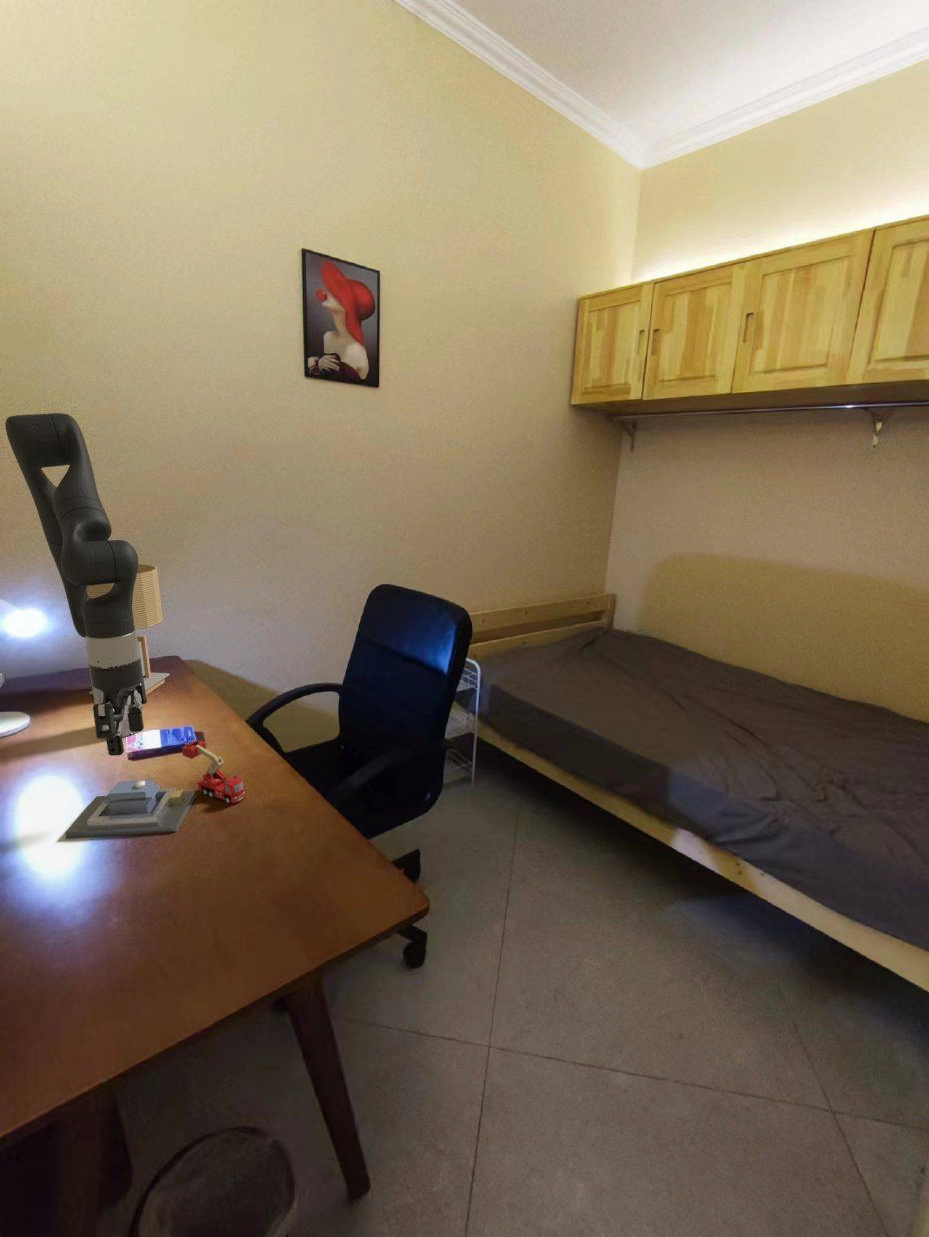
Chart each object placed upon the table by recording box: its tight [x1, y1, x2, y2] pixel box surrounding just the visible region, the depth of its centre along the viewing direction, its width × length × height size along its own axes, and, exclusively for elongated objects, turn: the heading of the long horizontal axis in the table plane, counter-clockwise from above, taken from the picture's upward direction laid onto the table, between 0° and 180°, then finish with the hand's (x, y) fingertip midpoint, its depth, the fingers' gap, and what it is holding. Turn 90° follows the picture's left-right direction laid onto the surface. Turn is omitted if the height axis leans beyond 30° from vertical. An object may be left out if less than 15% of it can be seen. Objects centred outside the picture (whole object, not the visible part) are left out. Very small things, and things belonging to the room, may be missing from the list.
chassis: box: [64, 787, 197, 840], centre depth 100 cm, size 11×18×3 cm, turn 99°
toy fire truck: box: [181, 740, 246, 804], centre depth 108 cm, size 3×14×10 cm, turn 65°
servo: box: [103, 779, 161, 816], centre depth 100 cm, size 4×8×6 cm, turn 100°
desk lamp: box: [87, 563, 170, 698], centre depth 152 cm, size 20×20×35 cm
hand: (127, 742), depth 97 cm, fingers open, 8 cm apart
